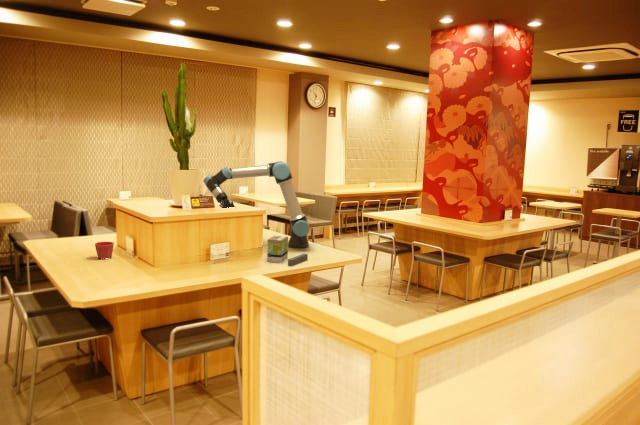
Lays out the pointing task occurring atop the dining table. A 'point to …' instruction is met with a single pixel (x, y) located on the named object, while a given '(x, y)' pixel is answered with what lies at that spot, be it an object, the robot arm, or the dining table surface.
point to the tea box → (277, 249)
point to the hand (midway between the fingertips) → (239, 222)
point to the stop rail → (297, 259)
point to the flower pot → (104, 249)
